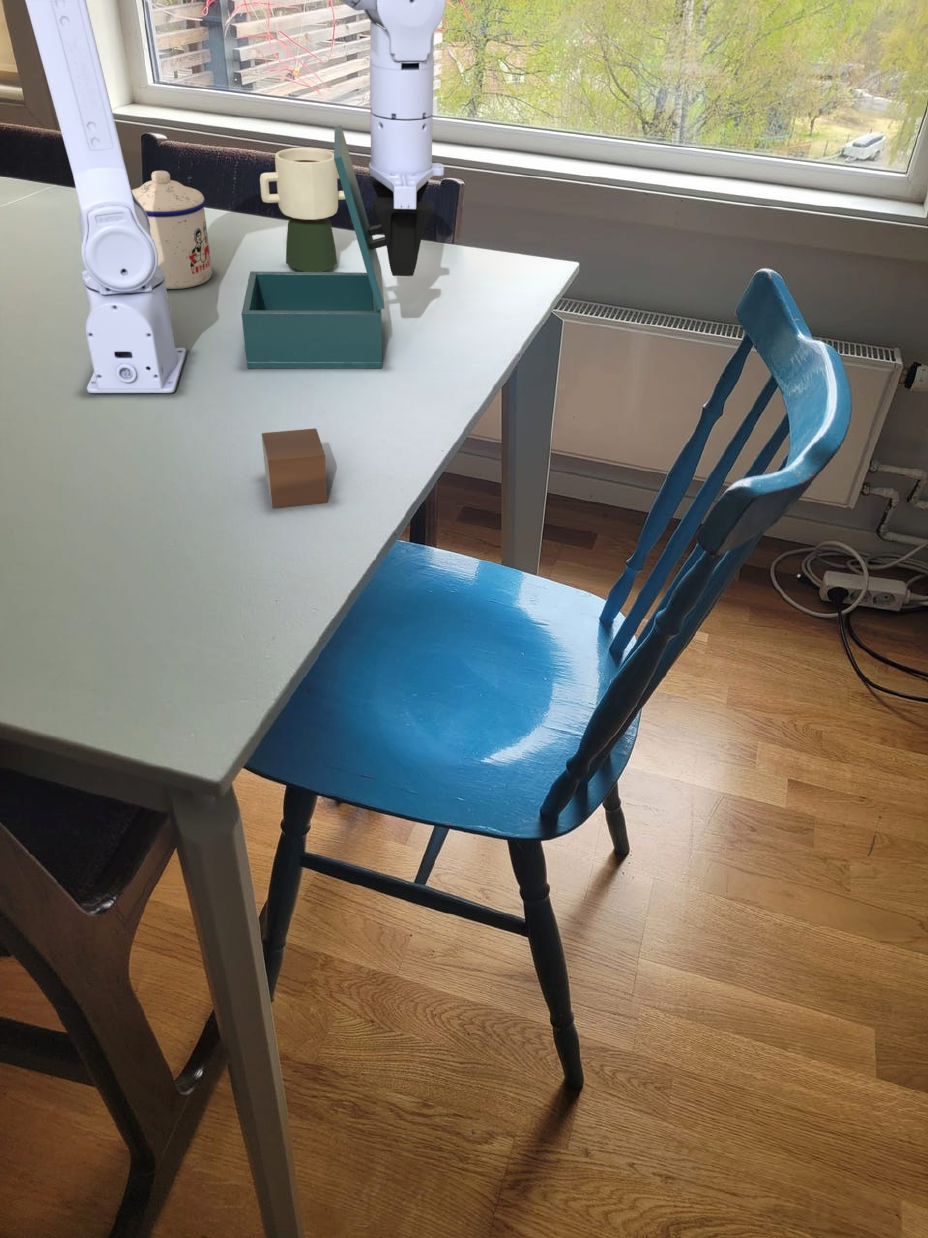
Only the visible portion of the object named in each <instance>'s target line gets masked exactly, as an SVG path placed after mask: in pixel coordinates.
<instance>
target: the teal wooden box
mask: <svg viewBox="0 0 928 1238" xmlns="http://www.w3.org/2000/svg"><path fill="white" fill-rule="evenodd" d="M241 321H242V330H243V331H242V333H243V339H244V340H243V341H244V350H245V351H244V352H245V361H246V368H247V369H382V368H383V351H382V349H383V346H382V345H383V341H382V339H383V338H382V331H383V330H382V309H381V310H378V309H377V306H376V302H375V299H374V295H373V292H372V289H371V285H370V282H369V278H368V275H367V272H351V271H350V272H348V271H345V272H343V271H341V272H340V271H323V272H306V271H259V270H258V271H252V270H251V271H249V276H248V281H247V285H246V290H245V296H244V300H243V305H242V310H241Z"/></svg>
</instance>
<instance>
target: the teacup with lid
mask: <svg viewBox="0 0 928 1238" xmlns="http://www.w3.org/2000/svg"><path fill="white" fill-rule="evenodd" d="M150 176H151V180H148V181H146V182H144V183H143V184H142V185H140V187H137V188H134V189H131V190H132V192H133V195H134V196H135V198H136V199H137V200H138V202H139V203H140V204H141V205H142V207H143V208H144V210H145V211H146V213H147V216H148V218H149V223H150V233H151V237H152V239H153V240H154V243H155V246H156V249H157V253H158V264H157V265H158V266H159V267H160V268H162V269H163V271H164V278H165V284H166V290H180V289H181V290H182V289H188V288H194V287H198V286H200V285H202V284H204V283H206V282H207V281H209V280H210V279H211V277H212V276H213V269H212V261H211V253H210V245H209V244H210V243H209V235H208V228H207V219H206V210H205V207H206V204H207V202H206V201H207V200H206V199H205V197H204V194H203V193H202V192H201V191H200V190H198V189H195V188H192V187H190V186H185V185H183V184H182V183H181V182H178V181H176V180H173V179H171V174H170V173H169V172H168V171H166V170H154V171H152V173H151V174H150Z"/></svg>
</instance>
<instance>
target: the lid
mask: <svg viewBox="0 0 928 1238" xmlns="http://www.w3.org/2000/svg"><path fill="white" fill-rule="evenodd" d="M333 139H334V141H333V153H334V161H335V164H336V168H337V171H338V175H339V178H340V179H339V181H340V185H341V188H342V191H343V192H344V195H345V199H344V200H345V202H346V205H347V209H348V212H349V216H350V219H351V223H352V226H353V230H354V233H355V236H356V240H357V243H358V247H359V250H360V254H361V258H362V261H363V265H364V267H365V271H366V273H367V275H368V278H369V282H370V285H371V289H372V292H373V295H374V299H375V302H376V306H377V309H378V310H381V311H382V310H385V308H386V307H385V298H384V297H385V296H384V286H383V275H382V266H381V261H380V259H379V256H378V252H377V249H379V248H383V247H387V246H386V240H385V236H381V237H378V238H374V237H373V236H377V235H381V234H384V232H383V229H382V226H381V223H379V224H377V225H373V226H370V223H369V219H368V216H367V211H366V208H365V205H364V202H363V201H364V200H363V198H362V195H361V194H362V193H361V190H360V186H359V183H358V180H357V176H356V173H355V170H354V166H353V162H352V158H351V155H350V151H349V147H348V145H347V140H346V136H345V132H344V130H343V126H342V125H338V126H334V137H333Z"/></svg>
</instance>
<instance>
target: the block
mask: <svg viewBox="0 0 928 1238" xmlns="http://www.w3.org/2000/svg"><path fill="white" fill-rule="evenodd" d="M261 443H262V452H263V454H262V455H263V462H264V463H263V464H264V473H265V482H266V485H267V490H268V496H269V499H270V504H271V508H272V509H279V508H288V507H289V508H291V507H299V506H308V505H317V504H326V503H328V485H327V468H326V465H327V464H326V454H325V451H324V448H323V445H322V442H321V439H320V435H319V433H318V429H317V428H314V427H313V428H305V429H304V428H303V429H293V430H283V431H281V430H280V431H270V432H269V431H268V432H262V433H261Z"/></svg>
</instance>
